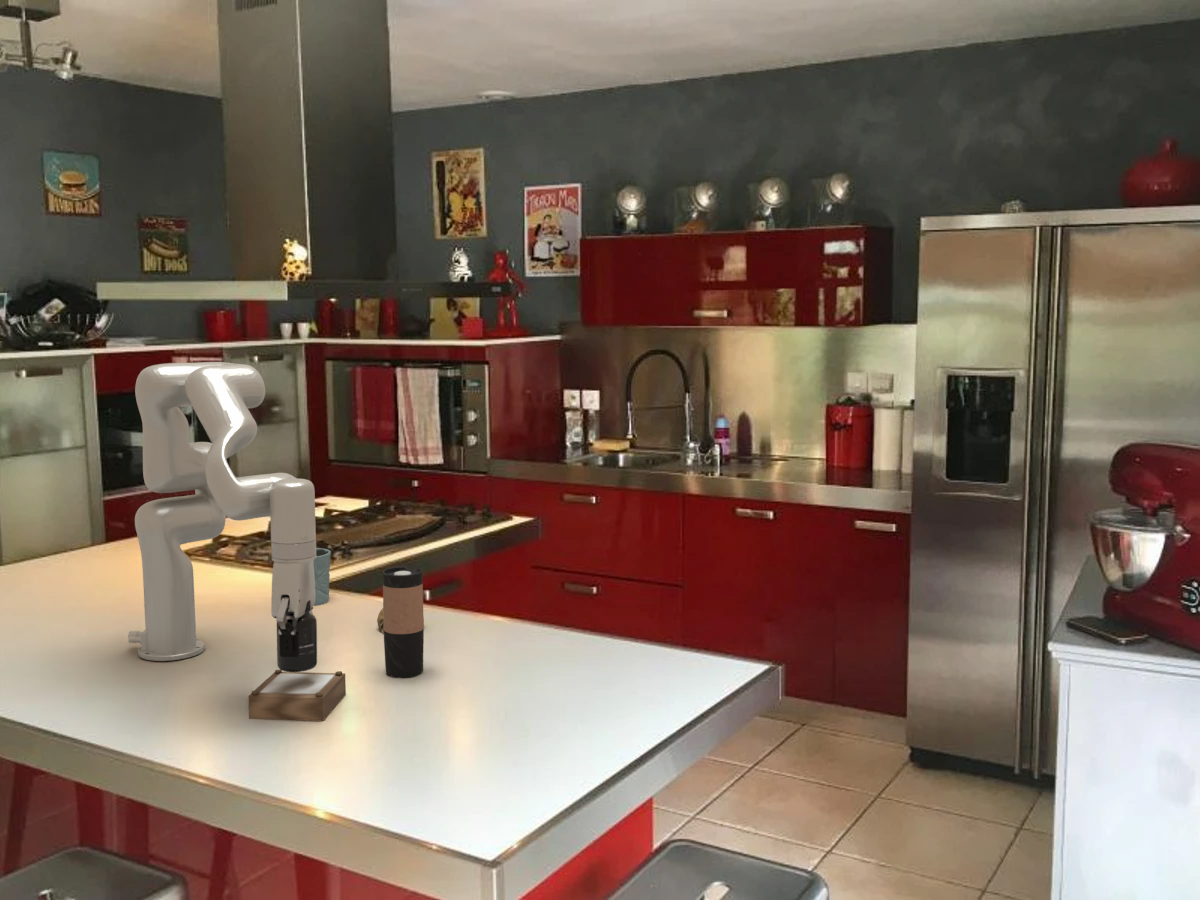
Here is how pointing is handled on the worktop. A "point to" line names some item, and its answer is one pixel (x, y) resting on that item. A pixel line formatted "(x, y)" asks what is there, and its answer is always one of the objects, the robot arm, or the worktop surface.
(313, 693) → the walnut base block
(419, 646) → the travel mug
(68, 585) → the worktop surface
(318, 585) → the drinking glass
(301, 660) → the supplement bottle
